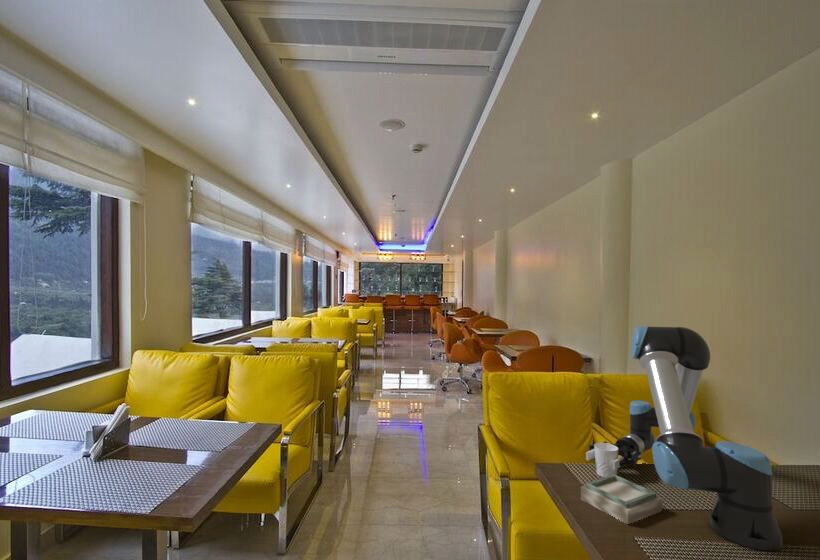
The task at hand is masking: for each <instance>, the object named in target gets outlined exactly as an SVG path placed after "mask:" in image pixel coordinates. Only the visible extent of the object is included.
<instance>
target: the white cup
mask: <svg viewBox="0 0 820 560" xmlns="http://www.w3.org/2000/svg"><path fill="white" fill-rule="evenodd" d="M594 444H595V445H594ZM594 444H593V445H594V449H595V457H594V460H595V461H594V463H595V469H596V470H595V471H596V474H597V475H598V476H599V477H602V478H605V477H608V476H611V475H617V476H618V469H616V470H614V469H613V461H614V460H616V459H618V458H619V455H618V447H616V446H614V445H612V444H611V443H608V442H607V443H603V442H596V443H594Z"/></svg>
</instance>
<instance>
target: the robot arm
mask: <svg viewBox="0 0 820 560" xmlns="http://www.w3.org/2000/svg"><path fill="white" fill-rule="evenodd" d="M630 343H631V346H630V347H631V348H630V349H631V350H630V353H631V357H632V359H635V360H638V363H639V366H641V367H642V368H643V369H645V371H646V376H647V380H648V384H649V388H650V393H651V397H652V402H653V405H654V407H652V404H651V403H650V402H648V401H643V400H632V401H631V402H630V403H629V434H628V435H625V436H623V437H621V438H619V439H617V440H616V441H615V443H613V444H612V445H614V446H616V447H618V456H619V457H618V459H616V460H614V461H613V469H614V470H616V469H617V470H618V469H619V468H621V467H625V466H629V465H630V467H632V468H634V467H635V466H636V464H637V463H638V461H640V460H642V453H645V452H646V451H649V450H651V451H652V453H651V454H652V456H653V457H652V460H653V464H654V468H655V470H656V472H657V475H658V477H659V478H660V480H661V481H662V482H663V483H664V484H665V485H666V486H669V487H672V488H679V489H681V490H690V491H691V490H692V491H701V492H707V493H708V492H709V493H710V492H711V493H716V494H717V498H716V500H715V504H714V505H713V508H712V511H711V513H710V515H709V516H710V517H709V518H710V527H711V528H712V529H713V531H715V533H717V534H719V536H722V537H723V538H725V539H727V540H728V541H731V542H732V543H735V544H737V545H740V546H744V547H746V548H750V549H754V550H760V551H767V552H768V551H769V552H770V551H772V552H773V551H778V550H781V549H782V548H783V545H784V544H783V541H784V539H783V533H782V530H781V528H780V527H779V524H778V521H777V519H776V517H775V514H774V511H773V510H774V509H773V504H774V503H773V470H772V463H771V459H770V458H769V456H767V455H766V454H765V453H763V452H761V451H759V450H757V449H755V448H752V447H750V446H747V445H744V444H740V443H736V442H733V441H726V440H721V441H719V440H718V441H717V442H716V443H715V445H714V446H715V447H711V446H705V444H704V441H703V438H702V436H700V435H698V434H697V433H695V432H694V429H695V426H696V418H695V417H696V416H695V414H694V413H693V411H692V407H693V404H694V402H695V398H696V396H697V391H698V388H699V384H700V382H701V378H702V376H703V372H704V371H705V370H706V369H708V367H709V366H710V362H711V351H710V348H709V345H708V343H707V342H706V340H705V339H704V338H703V336H702V335H700V333H698V332H696V331H694V330H693V329H691V328H688V327H684V326H683V327H682V326H675V327H674V326H649V325H646V326H637V327H635V328H634V329H633V331H632V337H631V342H630ZM676 365H677V367H676ZM652 428H659V432H660V434H659V435H658V436H657V437H655V435H654V433H653V432H652ZM602 443H608V441H605V440H604V441H603V442H602ZM595 444H596V443H594V444H591V445H589V446H588V447H589V448H588V451H586V452H585V460H586V461H590V460H592V459H595V449H594V445H595Z"/></svg>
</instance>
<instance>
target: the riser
mask: <svg viewBox="0 0 820 560" xmlns="http://www.w3.org/2000/svg"><path fill="white" fill-rule="evenodd" d="M580 500H581V501H582V502H584V503H587V504H589V505H591V506H593V507H594V508H595V509H598V510H600V511H602V512H603V513H605V514H607V515H608V514H609V516H610V515H611V516H610V517H612V516H613V518H614V517H615V518H614V519H616V520H618V519H619V520H620V521H619V520H618V521H619V522H621V521H622V522H621V523H623V522H624V523H623V524H625V523H627V524H630V523H632V524H634V523H633V522H635V523H637V522H639V521H638V520H640V521H642V520H644V519H643V518H645V519H646V517H647V518H649V517H648V516H650V517H652V516H654V515H656V513H657V514H659V513H662V512H663V497H661V496H659V495H657V492H655V491H652V490H651V489H648V488H646V487H644V486H642V485H639V484H637V483H634V482H633V481H630V480H628V479H626V478H623V477H621V476H619V475H618V474H617V475H611V476H608V477H605V478H604V477H602V478H598V479H596V480H591V481H589V482H586V483H585V484H584V485H581V486H580ZM661 511H662V512H661ZM651 515H652V516H651ZM641 519H642V520H641ZM636 521H637V522H636ZM627 524H626V525H627ZM630 525H631V524H630Z"/></svg>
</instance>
